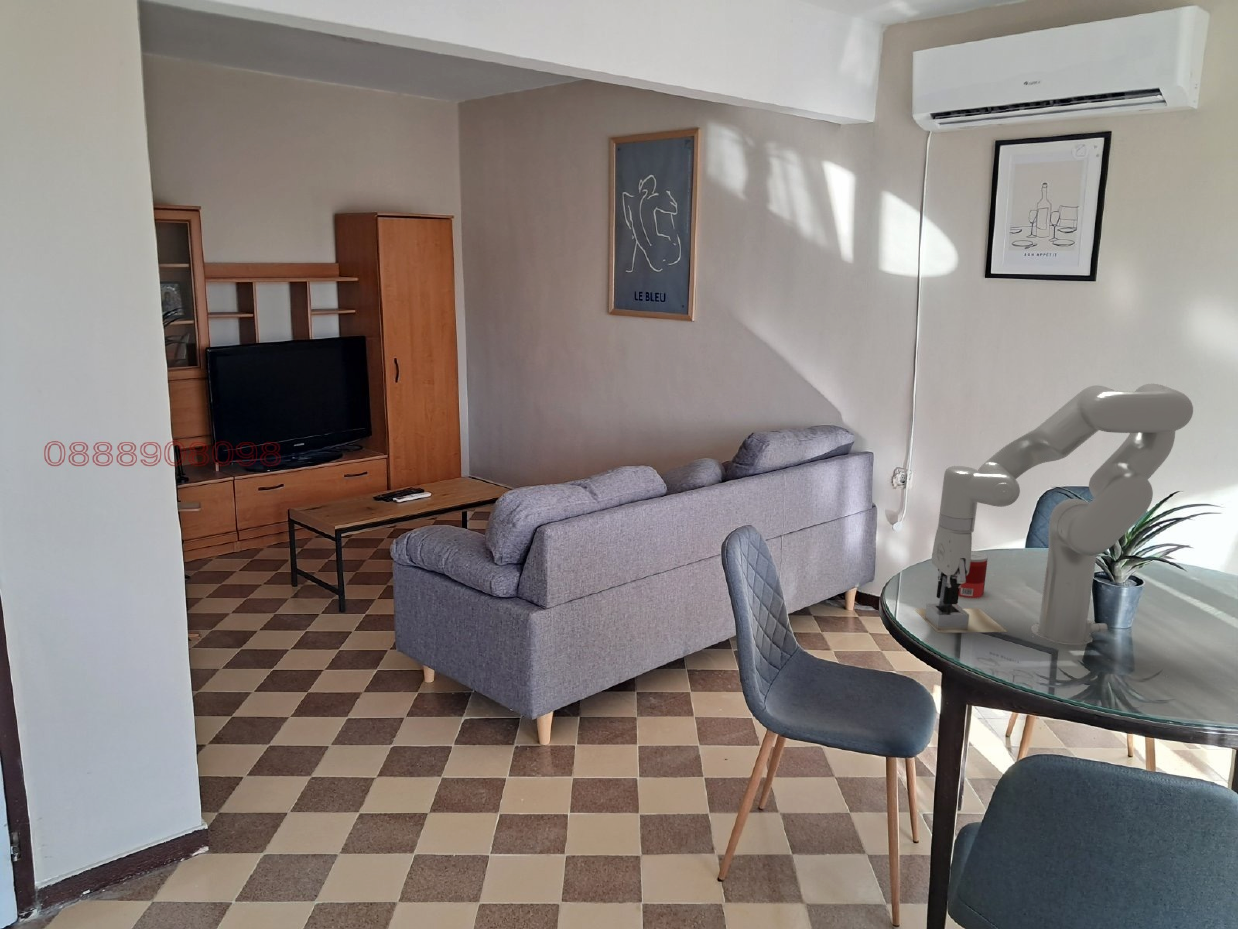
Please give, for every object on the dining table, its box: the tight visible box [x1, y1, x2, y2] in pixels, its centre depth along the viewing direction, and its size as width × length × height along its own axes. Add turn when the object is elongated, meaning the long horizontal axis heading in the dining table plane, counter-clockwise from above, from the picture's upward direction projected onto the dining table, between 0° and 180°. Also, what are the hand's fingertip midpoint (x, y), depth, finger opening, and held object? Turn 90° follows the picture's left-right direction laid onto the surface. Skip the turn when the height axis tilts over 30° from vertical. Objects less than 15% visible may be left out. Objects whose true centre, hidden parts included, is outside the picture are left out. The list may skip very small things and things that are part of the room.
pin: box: [938, 575, 956, 613], centre depth 214 cm, size 3×3×8 cm
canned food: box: [955, 550, 989, 599], centre depth 236 cm, size 8×8×11 cm
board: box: [913, 608, 1008, 634], centre depth 218 cm, size 16×14×1 cm
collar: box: [925, 603, 969, 630], centre depth 216 cm, size 7×7×4 cm
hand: (946, 600), depth 215 cm, fingers closed on pin, 2 cm apart
